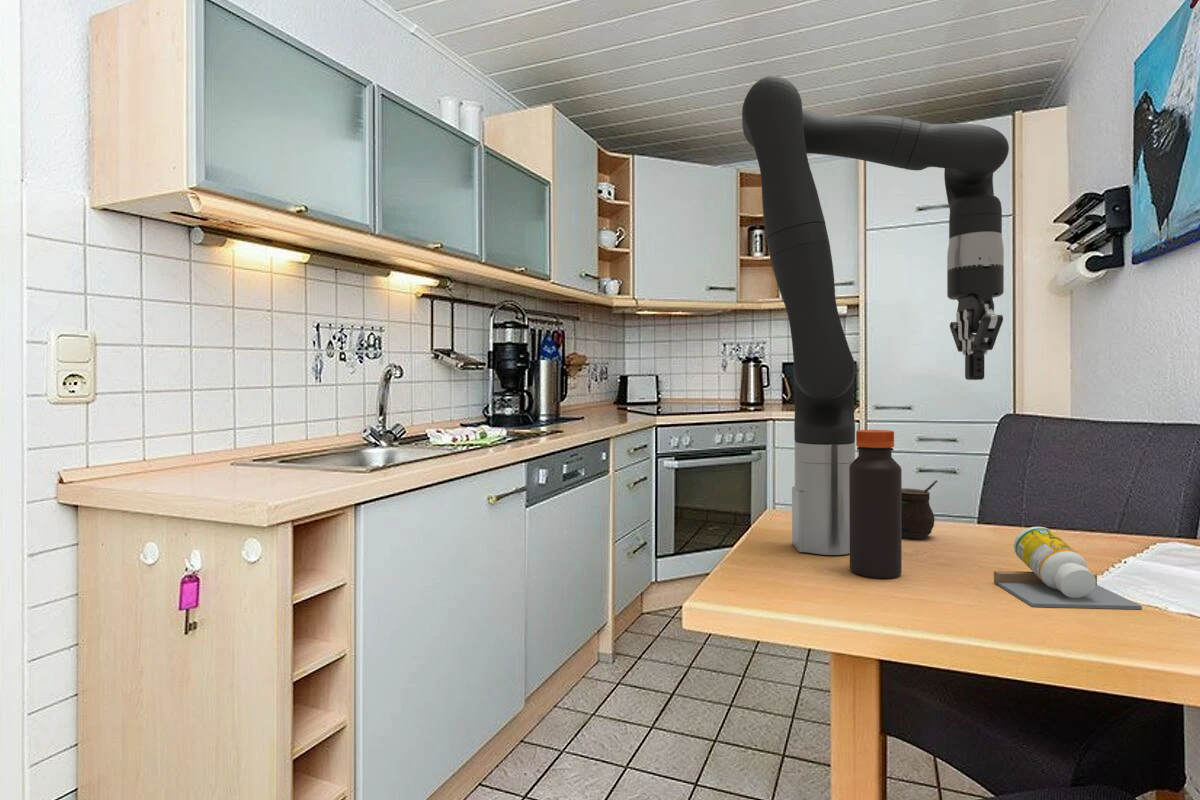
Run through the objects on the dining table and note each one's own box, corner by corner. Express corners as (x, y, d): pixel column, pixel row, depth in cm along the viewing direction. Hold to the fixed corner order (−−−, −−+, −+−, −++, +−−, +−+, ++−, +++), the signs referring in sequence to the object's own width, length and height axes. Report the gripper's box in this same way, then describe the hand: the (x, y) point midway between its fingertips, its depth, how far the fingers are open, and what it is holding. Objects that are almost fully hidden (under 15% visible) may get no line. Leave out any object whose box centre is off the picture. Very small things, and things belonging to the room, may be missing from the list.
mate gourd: (883, 531, 119) (883, 475, 119) (927, 532, 118) (928, 476, 118) (895, 540, 112) (895, 481, 111) (942, 542, 111) (943, 482, 110)
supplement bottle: (1003, 545, 89) (1044, 587, 80) (1034, 517, 87) (1080, 556, 78) (1032, 567, 90) (1076, 610, 81) (1063, 539, 88) (1112, 581, 79)
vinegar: (861, 563, 98) (861, 428, 98) (909, 572, 93) (909, 430, 93) (841, 572, 93) (840, 431, 93) (889, 582, 88) (889, 433, 88)
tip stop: (1032, 606, 78) (1032, 593, 78) (993, 582, 88) (993, 570, 88) (1141, 609, 77) (1141, 595, 77) (1091, 584, 86) (1091, 572, 86)
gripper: (932, 274, 108) (932, 380, 109) (968, 259, 95) (968, 379, 95) (980, 272, 107) (980, 379, 108) (1023, 257, 94) (1023, 379, 95)
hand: (974, 379), depth 102 cm, fingers closed
